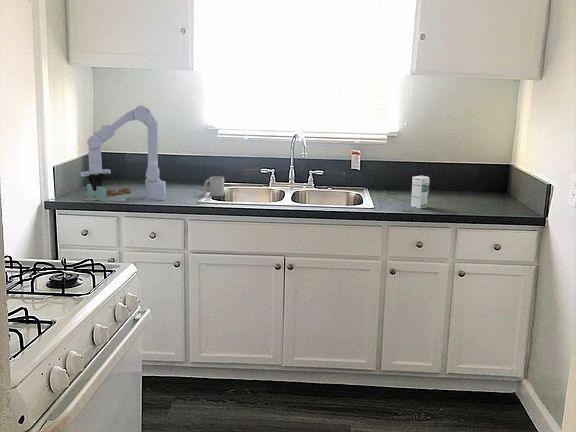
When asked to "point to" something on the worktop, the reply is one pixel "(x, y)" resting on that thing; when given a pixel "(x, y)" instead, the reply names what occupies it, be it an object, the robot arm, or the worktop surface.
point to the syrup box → (420, 191)
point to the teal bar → (97, 192)
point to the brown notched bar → (121, 192)
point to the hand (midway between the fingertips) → (96, 190)
